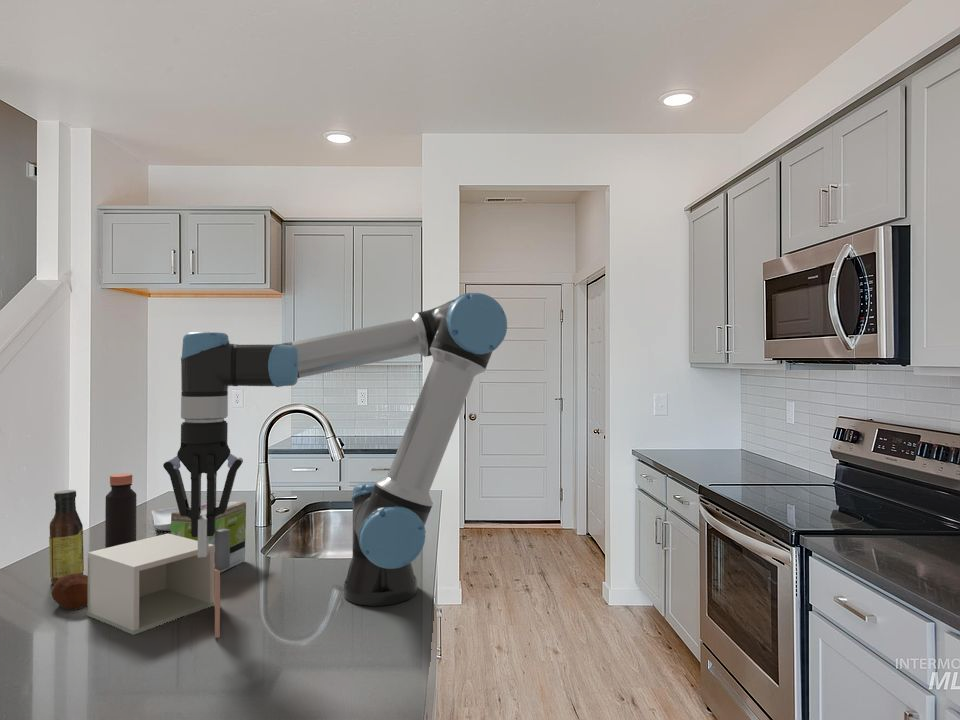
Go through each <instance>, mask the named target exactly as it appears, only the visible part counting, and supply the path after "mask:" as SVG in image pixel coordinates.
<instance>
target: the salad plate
mask: <svg viewBox="0 0 960 720" xmlns="http://www.w3.org/2000/svg"><path fill="white" fill-rule="evenodd" d="M189 507H191V505H189ZM176 511H179V509H178V506H177V507H170V508H162V509H154V510H151V515H152V517H153V526H154V527H155V528H156V529H157V530H159V531H165V532H171V513H173V512H176Z"/></svg>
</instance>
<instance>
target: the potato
mask: <svg viewBox="0 0 960 720" xmlns="http://www.w3.org/2000/svg"><path fill="white" fill-rule="evenodd" d="M51 596H52V597H51V598H52V599H53V600H54V602H56V604H58V605H59V606H61V607H62V608H64V609H67V610H73V611H74V610H79V609H81V608H84V607H86V606H88V574H87V575H86V574H84V573H83V574H80V573H76V574H69V575H66V576H63V577H61V578H60V579H58V580H57V581H56V583H55V584H54V585H53V586H52V590H51Z"/></svg>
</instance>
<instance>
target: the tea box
mask: <svg viewBox="0 0 960 720" xmlns="http://www.w3.org/2000/svg"><path fill="white" fill-rule="evenodd" d="M219 504H220V500H217V499H216V507H218V506H219ZM189 508H191V507H189ZM206 515H207V501H206V502H203V503H202V502H201V514H200V516H206ZM246 516H247V502H245V501H234V500H233V501H231V500H229V502H228V506H227V509H226V511H225V512H224V513H223V514H220V515H217V516H216V525H215V531H216V530H219V529H229V530H230V567H229V568H227V569H223V570H220V574H221V573H224V572H225V571H227V570H229V569H231V568H233V567H236V566H238V565H239V564H241V563H244V562H245V559H246V529H247V526H246V525H247V519H246V518H247V517H246ZM170 534H172V535H176V536H180V537H184V538H188V539H192V540H196V541H198V537H192V535H191V519H190V518H189V517H187V516H181V515H180V513H179V511H176V512H173V513H171V531H170ZM209 544H212V545H215V533H214V535H213V536H209ZM214 577H215V552H214Z"/></svg>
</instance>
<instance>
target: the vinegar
mask: <svg viewBox="0 0 960 720" xmlns="http://www.w3.org/2000/svg"><path fill="white" fill-rule="evenodd" d="M132 485H133V473H116V474H112V475H109V487H110V488H111V489H110V491H109V492H108V493H107V494H106V495H105V506H104V507H105V512H104V513H105V515H104V516H105V525H104V527H105V529H104V531H105V534H104V535H105V540H104V541H105V543H104V546H105V548H109V547H113V546H117V545H121V544H126V543H130V542H134V541H137V493H136V492H135V491H134V489H132V487H131V486H132ZM105 548H104V549H105Z"/></svg>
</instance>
